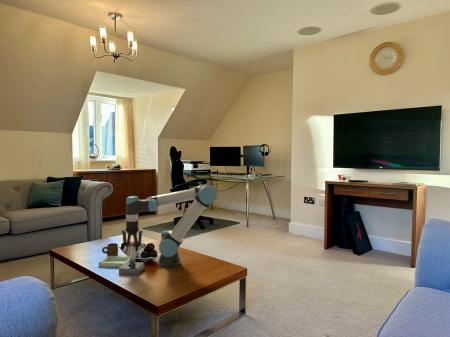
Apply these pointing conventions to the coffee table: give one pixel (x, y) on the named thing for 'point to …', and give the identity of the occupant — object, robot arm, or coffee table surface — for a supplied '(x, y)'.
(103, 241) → the coffee table surface
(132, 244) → the pin
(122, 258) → the tray
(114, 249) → the mug
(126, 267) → the block
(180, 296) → the coffee table surface
